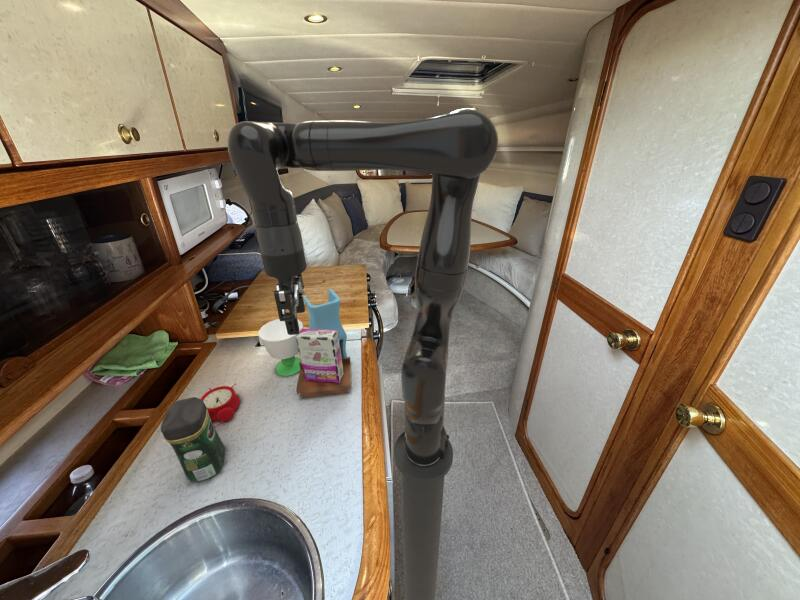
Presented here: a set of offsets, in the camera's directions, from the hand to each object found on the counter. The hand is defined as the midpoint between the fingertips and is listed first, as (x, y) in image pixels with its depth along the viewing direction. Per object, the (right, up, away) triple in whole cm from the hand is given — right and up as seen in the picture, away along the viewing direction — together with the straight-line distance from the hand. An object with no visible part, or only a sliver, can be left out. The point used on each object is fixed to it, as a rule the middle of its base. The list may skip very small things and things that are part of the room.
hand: (297, 322), depth 65 cm
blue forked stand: (-3, -17, +45) cm, 48 cm away
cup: (-16, -19, +43) cm, 49 cm away
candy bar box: (-2, -20, +32) cm, 38 cm away
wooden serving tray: (-2, -23, +35) cm, 41 cm away
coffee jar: (-26, -36, +11) cm, 45 cm away
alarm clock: (-31, -28, +26) cm, 49 cm away
